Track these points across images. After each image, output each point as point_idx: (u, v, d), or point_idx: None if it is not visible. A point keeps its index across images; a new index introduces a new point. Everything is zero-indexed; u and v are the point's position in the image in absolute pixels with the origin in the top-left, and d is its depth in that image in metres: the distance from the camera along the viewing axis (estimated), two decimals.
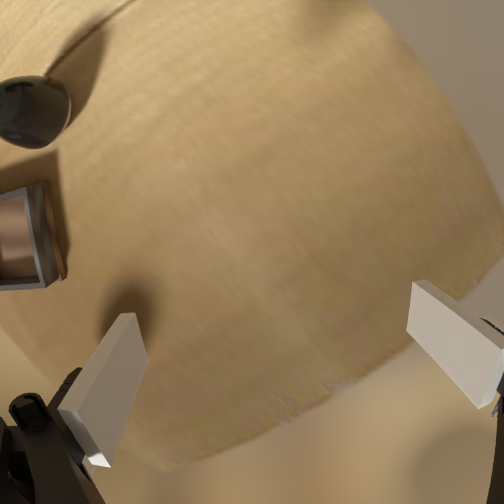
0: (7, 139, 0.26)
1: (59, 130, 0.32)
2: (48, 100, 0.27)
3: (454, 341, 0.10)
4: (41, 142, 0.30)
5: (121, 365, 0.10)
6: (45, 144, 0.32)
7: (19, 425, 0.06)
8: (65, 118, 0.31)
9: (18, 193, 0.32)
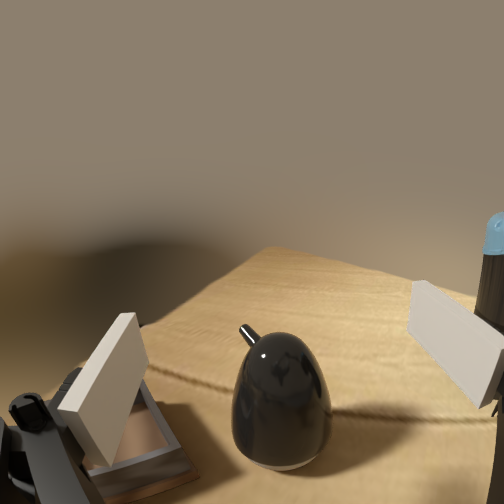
0: (238, 394, 0.25)
1: (275, 463, 0.23)
2: (311, 425, 0.23)
3: (454, 341, 0.10)
4: (249, 446, 0.23)
5: (121, 365, 0.10)
6: (248, 454, 0.24)
7: (19, 425, 0.06)
8: (294, 462, 0.23)
9: (169, 438, 0.25)
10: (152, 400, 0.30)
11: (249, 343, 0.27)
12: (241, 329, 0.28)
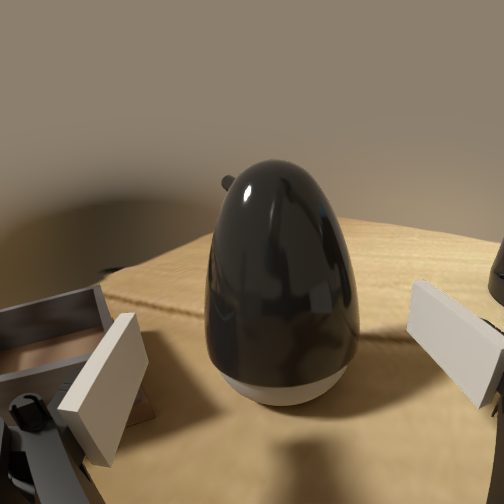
0: (212, 252, 0.17)
1: (271, 380, 0.15)
2: (330, 298, 0.15)
3: (454, 341, 0.10)
4: (227, 347, 0.16)
5: (121, 365, 0.10)
6: (227, 366, 0.16)
7: (19, 425, 0.06)
8: (304, 379, 0.15)
9: None
10: (104, 304, 0.23)
11: None
12: (224, 179, 0.21)
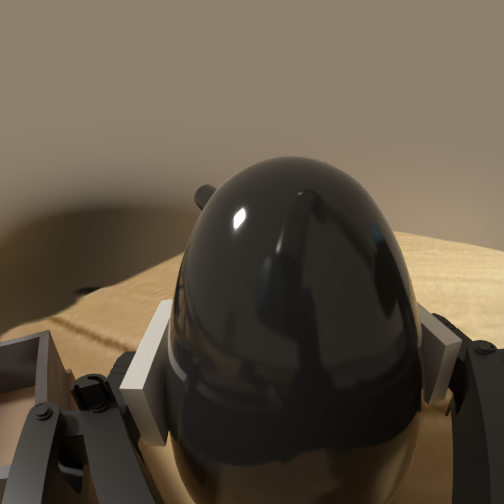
0: (169, 346, 0.08)
1: None
2: (397, 440, 0.06)
3: None
4: (207, 498, 0.07)
5: None
6: None
7: (79, 405, 0.07)
8: None
9: None
10: (44, 370, 0.14)
11: None
12: (198, 192, 0.12)
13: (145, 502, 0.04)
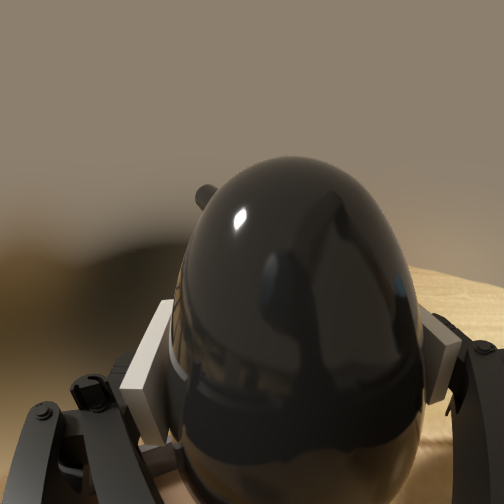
0: (170, 346, 0.08)
1: None
2: (398, 440, 0.06)
3: None
4: (208, 499, 0.07)
5: None
6: None
7: (79, 405, 0.07)
8: None
9: None
10: None
11: None
12: (199, 192, 0.12)
13: (145, 503, 0.04)
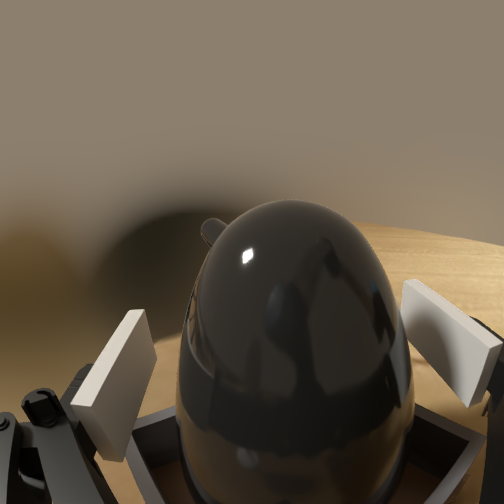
0: (180, 371, 0.09)
1: None
2: (385, 455, 0.07)
3: (444, 339, 0.10)
4: None
5: (132, 361, 0.11)
6: None
7: (31, 420, 0.06)
8: None
9: (459, 432, 0.11)
10: None
11: None
12: (205, 226, 0.13)
13: None
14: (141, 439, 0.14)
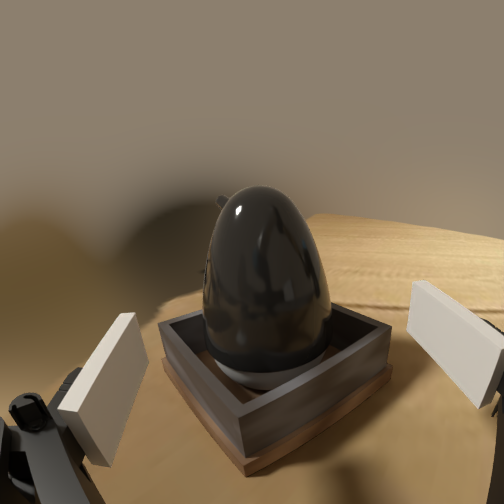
0: (208, 263, 0.21)
1: (256, 366, 0.19)
2: (303, 300, 0.19)
3: (454, 341, 0.10)
4: (221, 340, 0.20)
5: (121, 365, 0.10)
6: (221, 355, 0.20)
7: (19, 425, 0.06)
8: (283, 366, 0.19)
9: (372, 322, 0.23)
10: None
11: None
12: (218, 199, 0.25)
13: None
14: (174, 332, 0.27)
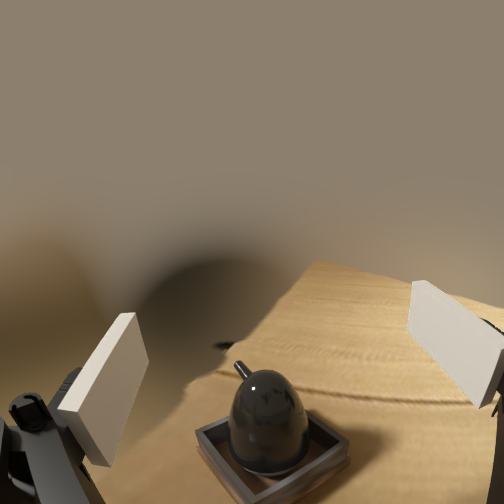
0: (233, 417, 0.30)
1: (262, 471, 0.28)
2: (290, 442, 0.28)
3: (454, 341, 0.10)
4: (241, 457, 0.29)
5: (121, 365, 0.10)
6: (241, 463, 0.29)
7: (19, 425, 0.06)
8: (277, 470, 0.28)
9: (337, 437, 0.32)
10: (305, 411, 0.38)
11: (242, 376, 0.33)
12: (235, 365, 0.34)
13: None
14: (206, 435, 0.36)
